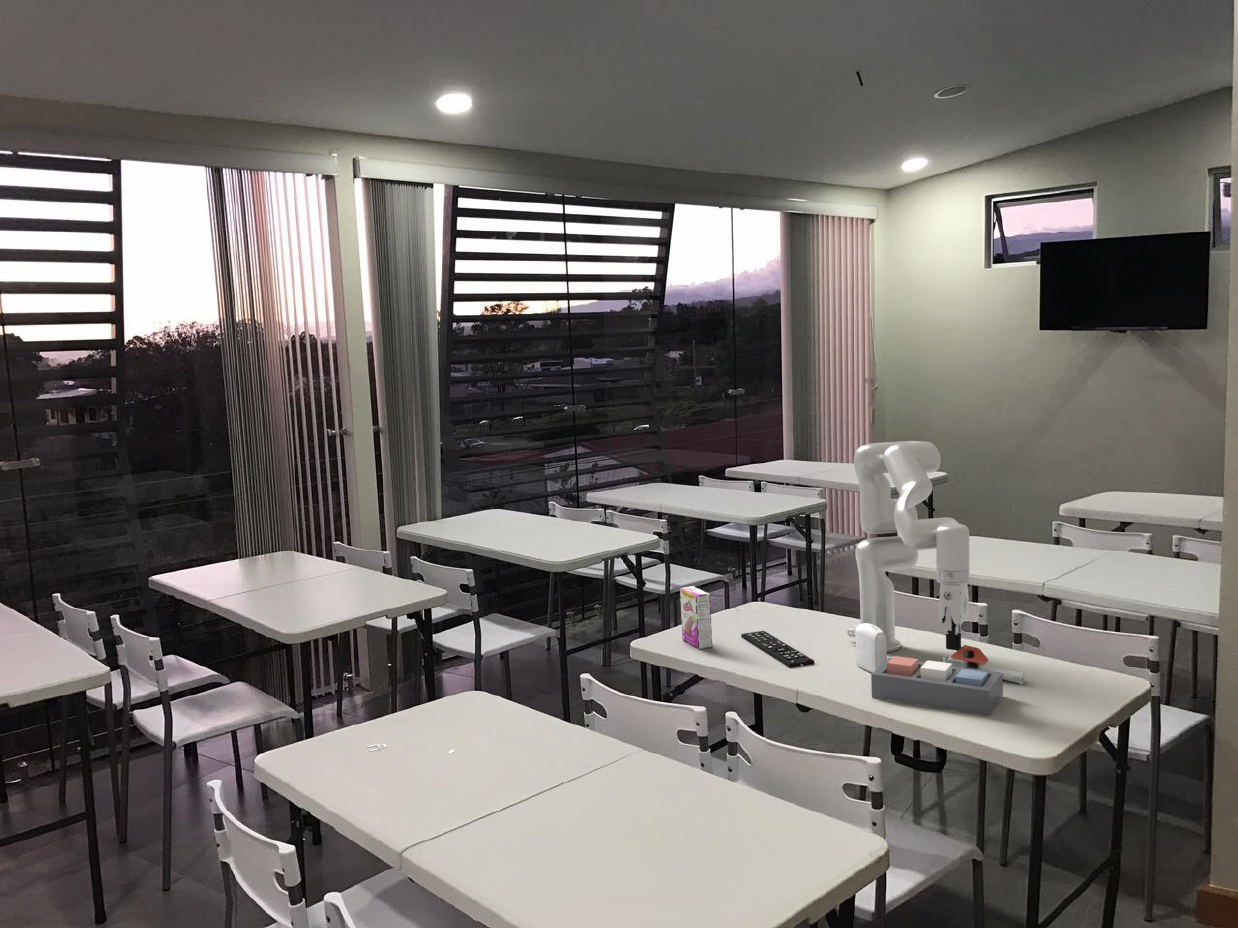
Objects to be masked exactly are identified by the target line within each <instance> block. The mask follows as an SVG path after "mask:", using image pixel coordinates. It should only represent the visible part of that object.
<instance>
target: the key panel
mask: <svg viewBox="0 0 1238 928" xmlns="http://www.w3.org/2000/svg"><path fill="white" fill-rule="evenodd" d="M892 658H893V657H889V658H887V660H886V661H885V662H884V663H883V664H882V665H881V666H880V667H879V668H878V669H876V670H875V671H874V672H873V673H872V672H871V675H870V676H871V698H873V699H879V700H886V701H893V702H897V703H898V702H900V703H903V704H904V703H905V704H911V705H919V706H925V707H931V708H938V709H943V710H949V711H954V712H955V711H957V712H961V713H968V714H969V713H970V714H976V715H982V716H988V717H989V716H990V715H991V714H992V712H993V711H994V709H995V708H996V707H997V705H998V704H999V703H1000V701H1001V700H1002V698H1003V696H1004V694H1003V693H1004V688H1003V687H1004V686H1003V685H1004V684H1003V682H1004V680H1003V673H1001V672H993V671H986V670H978V669H977V668H972V667H967V668H963V667H956V666H952V675H951V677H950V678H949V679H948V680H947V681H946V682H944V681H936V680H929V679H922V678H921V667H922V666H923V665H924V664H925V663H926V662H927V661H925V662H924V661H918V670H917V671H916V672H915V673H914V674H913V675H912V676H911V677H908V676H901V675H894V674H887V662H888V661H889V660H891V659H892ZM962 669H965V670H973V671H980V672H987V673H988V680H987V681H986V683H985V684H984V685H983V686H982V687H979V686H972V685H965V684H958V683H956V676H957V674H958V673H959V672H960V671H961V670H962Z"/></svg>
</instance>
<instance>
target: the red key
mask: <svg viewBox="0 0 1238 928" xmlns="http://www.w3.org/2000/svg"><path fill="white" fill-rule="evenodd" d="M891 658H892V659H891V660H889V661H888V662H887V674H894V675H901V676H908V677H911V676H912V675H913V674H914V673H915V672H916V671H917V670H918V662H919V659H918V658H913V657H905V656H897V655H894V656H893V657H891Z"/></svg>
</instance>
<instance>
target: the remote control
mask: <svg viewBox="0 0 1238 928" xmlns="http://www.w3.org/2000/svg"><path fill="white" fill-rule="evenodd" d="M740 637H741V638H742V639H743V640H745V641H746V642H748V643H749V644H751V645H753V646H754V647H756V648H757V649H758V650H760V651H761V652H763V653H765V654H767V655H768V656H770V657H771V658H772V659H774V660H776V661H778V662H779V663H780V664H781V665H783V666H785V667H787V668H789V669H792V668H797V667H803V666H804V667H805V666H810V665H815V660H814V659H813V658H811V657H809V656H807V655H806V654H804V653H802V652H800V651H799V650H798V649H795V648H794V647H792V646H790V645H789V644H787V643H786V642H784V641H782V640H780V639H779V638H777V637H775V636H774V635H772V634H771V633H769V632H767V631H765V630H760V631H752V632H745V633H741V635H740Z"/></svg>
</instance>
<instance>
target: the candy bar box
mask: <svg viewBox="0 0 1238 928" xmlns="http://www.w3.org/2000/svg"><path fill="white" fill-rule="evenodd" d="M679 595H680V596H679V597H680V599H679V601H680V614H681V635H682V640H683V641H684V642H686V643H688V644H689V645H690V646H692V647H694V648H696V649H698V650H703V649H709V648H712V647H713V635H712V610H711V594H710V593H709V592H706V591H705V590H702V589H700V588H699V587H696V586H693V585H692V586H691V585H690V586H685V587H680V588H679Z"/></svg>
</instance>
